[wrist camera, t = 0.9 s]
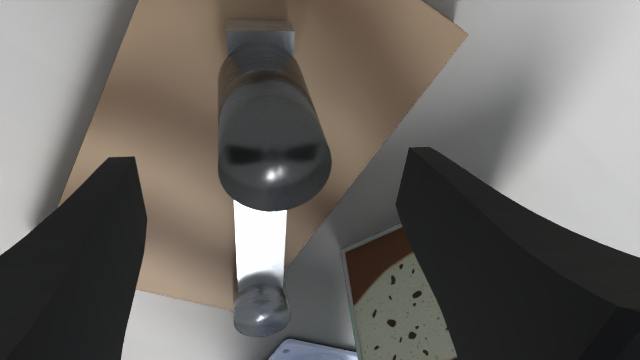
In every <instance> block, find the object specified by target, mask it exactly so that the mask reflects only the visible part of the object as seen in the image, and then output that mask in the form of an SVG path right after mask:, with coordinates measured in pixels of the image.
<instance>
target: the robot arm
mask: <svg viewBox="0 0 640 360" xmlns="http://www.w3.org/2000/svg"><path fill="white" fill-rule="evenodd" d="M396 207H397V211H398V214H399V217H400V221H401V224H402V227H403V230H404V233H405V236H406V238H407V240H408V242H409V244H410V246H411V248H412V251H413V253H414V255H415V257H416V259H417V261H418V263H419V265H420V267H421V269H422V271H423V273H424V275H425V277H426V279H427V282H428V284H429V286H430V288H431V290H432V292H433V294H434V296H435V298H436V300H437V303H438V305H439V307H440V309H441V312H442V314H443V317H444V320H445V323H446V325H447V328H448V331H449V334H450V337H451V340H452V342H453V345H454V348H455V351H456V354H457V358H458V360H640V258H639V257H636V256H633V255H630V254H627V253H624V252H622V251H619V250H616V249H614V248H611V247H608V246H606V245H603V244H601V243H598V242H596V241H594V240H591V239H589V238H586V237H584V236H582V235H579V234H577V233H575V232H572V231H570V230H568V229H566V228H564V227H562V226H559V225H558V224H556V223H554V222H552V221H550V220H548V219H546V218H544V217H542V216H540V215H538V214H536V213H534V212H532V211H530V210H528V209H527V208H525V207H523V206H521V205H520V204H518V203H516V202H515V201H513V200H511V199H510V198H508V197H506V196H504V195H503V194H501V193H500V192H498V191H496V190H495V189H493V188H492V187H490V186H489V185H487V184H486V183H484V182H483V181H481V180H480V179H478V178H477V177H475V176H474V175H472V174H471V173H469V172H468V171H466V170H465V169H463V168H462V167H460V166H459V165H457V164H456V163H454V162H453V161H451V160H450V159H448V158H447V157H445V156H444V155H442V154H441V153H439V152H437V151H436V150H434V149H432V148H430V147H416V148H409V150H408V155H407V159H406V163H405V167H404V171H403V176H402V180H401V184H400V188H399V192H398V197H397V201H396ZM146 229H147V214H146V209H145V204H144V199H143V194H142V189H141V184H140V179H139V174H138V169H137V164H136V159H135V156H131V157H108V158H107V159H106V160H105V161H104V162H103V163H102V164H101V165H100V166H99V167H98V168H97V169H96V170H95V171H94V172H93V173H92V174H91V175H90V176H89V177H88V178H87V179H86V181H85V182H84V183H83V184H82V185H81V186H80V187H79V188H78V189H77V190H76V191H75V192H74V193H73V194H72V195H71V196H70V197H69V198H67V199H66V200H65V201H64V202H63V203H62V204H61V205H60V206H59V207H58V208H57V209H56V210H55V211H54V212H53V213H52V214H50V215H49V216H48V217H47V218H46V219H45V220H44V221H42V222H41V223H40V224H39V225H38V226H37V227H36V228H35V229H33V230H32V231H31V232H30V233H29V234H28V235H26V236H25V237H24V238H23V239H21V240H20V241H19V242H18V243H16V244H15V245H14V246H12V247H11V248H10V249H8V250H7V251H6V252H4V253H3V254H2V255H0V360H121V354H122V347H123V342H124V337H125V331H126V327H127V323H128V319H129V315H130V311H131V306H132V302H133V298H134V294H135V290H136V286H137V282H138V277H139V273H140V269H141V265H142V260H143V256H144V250H145V240H146ZM268 360H358V358H357V352H352V351H348V350H343V349H338V348H333V347H328V346H323V345H318V344H314V343H309V342H304V341H299V340H294V339H287V340H285V341H283V342H282V344H281V345H280V346H279V347H278V348H277V349H276V351H275V352H274V353H273V354H272V355H271V356H270V357H269V359H268Z"/></svg>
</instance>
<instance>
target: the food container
mask: <svg viewBox="0 0 640 360" xmlns="http://www.w3.org/2000/svg"><path fill="white" fill-rule="evenodd" d="M340 251H341V257H342V264H343V270H344V276H345V283H346V289H347V295H348V301H349V308H350V314H351V320H352V327H353V333H354V339H355V346H356V352H357V358H358V360H458V358H457V354H456V351H455V348H454V345H453V342H452V340H451V337H450V334H449V331H448V328H447V325H446V323H445V320H444V317H443V314H442V312H441V309H440V307H439V305H438V303H437V300H436V298H435V296H434V294H433V292H432V290H431V288H430V286H429V284H428V282H427V279H426V277H425V275H424V273H423V271H422V269H421V267H420V265H419V263H418V261H417V259H416V257H415V255H414V253H413V251H412V248H411V246H410V244H409V242H408V240H407V238H406V236H405V233H404V230H403V227H402V224H401V223H400V224H398V225H395V226H393V227H391V228H389V229H386V230H384V231H382V232H380V233H377V234H375V235H373V236H371V237H368V238H366V239H364V240H362V241H359V242H357V243H355V244H353V245H350V246H348V247H346V248H344V249H341V250H340Z"/></svg>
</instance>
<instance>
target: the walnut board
mask: <svg viewBox="0 0 640 360" xmlns="http://www.w3.org/2000/svg"><path fill="white" fill-rule="evenodd" d="M226 20H265V21H291V24H292V26H293V29H294V31H295V38H294V58H295V60H296V61H297V63H298V64H299V67H300V69H301V72H302V74H303V77H304V80H305V83H306V85H307V88H308V91H309V94H310V97H311V99H312V102H313V105H314V108H315V110H316V113H317V116H318V119H319V121H320V124H321V127H322V130H323V132H324V135H325V138H326V141H327V143H328V146H329V149H330V152H331V158H332V167H331V172H330V175H329V178H328V180H327V182H326V184H325V185H324V187H323V188H322V189H321V190H320V192H319V193H318V194H317V195H315V196H314V197H313V198H312V199H310V200H309V201H308V202H306V203H304V204H302V205H300V206H298V207H295V208H292V209H289V210H286V231H285V253H284V271H285V270H286V269H287V267H288V266H289V265H290V263H291V262H292V261H293V260H294V258H295V257H296V256H297V254H298V253H299V252H300V251H301V249H302V248H303V247H304V245H305V244H306V243H307V242H308V240H309V239H310V238H311V236H312V235H313V234H314V233H315V231H316V230H317V229H318V227H319V226H320V225H321V224H322V222H323V221H324V220H325V218H326V217H327V216H328V215H329V213H330V212H331V211H332V209H333V208H334V207H335V206H336V204H337V203H338V202H339V200H340V199H341V198H342V197H343V195H344V194H345V193H346V191H347V190H348V189H349V187H350V186H351V185H352V184H353V182H354V181H355V180H356V178H357V177H358V176H359V175H360V173H361V172H362V171H363V169H364V168H365V167H366V166H367V164H368V163H369V162H370V160H371V159H372V158H373V157H374V155H375V154H376V153H377V151H378V150H379V149H380V148H381V146H382V145H383V144H384V142H385V141H386V140H387V139H388V137H389V136H390V135H391V133H392V132H393V131H394V130H395V128H396V127H397V126H398V124H399V123H400V122H401V121H402V119H403V118H404V117H405V115H406V114H407V113H408V112H409V110H410V109H411V108H412V106H413V105H414V104H415V103H416V101H417V100H418V99H419V97H420V96H421V95H422V94H423V92H424V91H425V90H426V88H427V87H428V86H429V85H430V83H431V82H432V81H433V79H434V78H435V77H436V76H437V74H438V73H439V72H440V70H441V69H442V68H443V67H444V65H445V64H446V63H447V61H448V60H449V59H450V58H451V56H452V55H453V54H454V52H455V51H456V50H457V49H458V47H459V46H460V45H461V43H462V42H463V41H464V40H465V38H466V37H467V36H468V34H467V33H466V32H465V31H463V30H462V29H461V28H460V27H458V26H457V25H456V24H454V23H453V22H452V21H450V20H449V19H447V18H446V17H445V16H443V15H442V14H440V13H439V12H438V11H436V10H435V9H433V8H432V7H431V6H429V5H428V4H427V3H425V2H424V1H422V0H138V3H137V5H136V8H135V10H134V13H133V15H132V18H131V21H130V23H129V26H128V28H127V31H126V33H125V36H124V38H123V41H122V44H121V46H120V49H119V51H118V54H117V56H116V59H115V61H114V64H113V67H112V69H111V72H110V74H109V77H108V79H107V82H106V85H105V87H104V90H103V92H102V95H101V97H100V100H99V102H98V105H97V108H96V110H95V113H94V115H93V118H92V120H91V123H90V125H89V128H88V131H87V133H86V136H85V138H84V141H83V143H82V146H81V148H80V151H79V154H78V156H77V159H76V161H75V164H74V166H73V169H72V171H71V174H70V177H69V179H68V182H67V184H66V187H65V189H64V192H63V194H62V197H61V200H60V202H59V205H58V207H59V206H60V205H61V204H62V203H63V202H64V201H65V200H66V199H67V198H69V197H70V196H71V195H72V194H73V193H74V192H75V191H76V190H77V189H78V188H79V187H80V186H81V185H82V184H83V183H84V182H85V181H86V179H87V178H88V177H89V176H90V175H91V174H92V173H93V172H94V171H95V170H96V169H97V168H98V167H99V166H100V165H101V164H102V163H103V162H104V161H105V160H106V159H107V158H108V157H131V156H135V159H136V164H137V169H138V174H139V179H140V184H141V189H142V194H143V199H144V204H145V209H146V214H147V229H146V240H145V250H144V256H143V260H142V265H141V269H140V273H139V277H138V282H137V286H136V290H140V291H145V292H149V293H154V294H158V295H163V296H167V297H172V298H176V299H181V300H185V301H190V302H194V303H199V304H203V305H207V306H212V307H216V308H221V309H225V310H230V311H233V282H234V280H235V279H236V277H237V254H236V232H235V210H234V200H233V199H232V198H231V197H230V196H229V195H228V194H227V193H226V191H225V190H224V188H223V186H222V185H221V182H220V179H219V175H218V75H219V71H220V68H221V66H222V64H223V62H224V61H225V59H226V58H227V57H228V54H227V32H226ZM58 207H57V208H58Z"/></svg>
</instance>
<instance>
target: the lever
mask: <svg viewBox="0 0 640 360" xmlns="http://www.w3.org/2000/svg"><path fill="white" fill-rule="evenodd" d="M226 32H227V54H228V57H227V58H226V59H225V61H224V62H223V64H222V66H221V68H220V71H219V75H218V175H219V179H220V182H221V185H222V186H223V188H224V190H225V191H226V193H227V194H228V195H229V196H230V197H231V198H232V199H233V200H234V210H235V232H236V254H237V277H236V279H235V280H234V282H233V314H234V326H235V328H236V330H237V331H239V332H240V333H242V334H244V335H246V336H251V337H264V336H269V335H272V334H275V333H277V332H279V331H281V330H282V329H283V328H285V327H286V326H287V324H288V323H289V321H290V310H289V303H288V297H287V290H286V284H285V278H284V276H283V274H284V253H285V231H286V210H289V209H292V208H295V207H298V206H300V205H302V204H304V203H306V202H308V201H309V200H310V199H312V198H313V197H314V196H315V195H317V194H318V193H319V192H320V190H321V189H322V188H323V187H324V185H325V184H326V182H327V180H328V178H329V175H330V172H331V167H332V158H331V152H330V149H329V146H328V143H327V141H326V138H325V135H324V132H323V130H322V127H321V124H320V121H319V119H318V116H317V113H316V110H315V108H314V105H313V102H312V99H311V97H310V94H309V91H308V88H307V85H306V83H305V80H304V77H303V74H302V72H301V69H300V67H299V64H298V63H297V61H296V60H295V58H294V38H295V31H294V29H293V26H292V24H291V21H265V20H226Z"/></svg>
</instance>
